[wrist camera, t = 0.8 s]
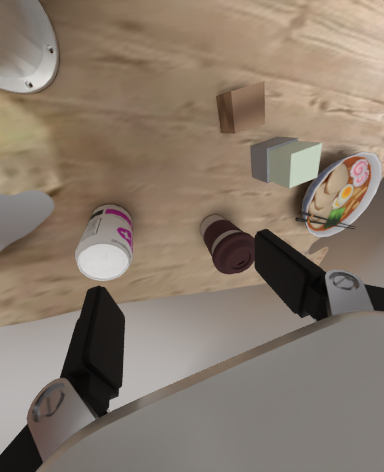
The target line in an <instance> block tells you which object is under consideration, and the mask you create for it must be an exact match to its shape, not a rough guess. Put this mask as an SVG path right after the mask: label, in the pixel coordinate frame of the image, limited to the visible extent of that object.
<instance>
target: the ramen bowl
mask: <svg viewBox="0 0 384 472" xmlns="http://www.w3.org/2000/svg"><path fill="white" fill-rule="evenodd" d="M381 178H382V163H381V161H380V160H379V158H378V157H377V155H376V154H375V153H368V152H361V153H357V154H354V155H352V156H349V157H346V158H344V159H341V160H339V161H337V162H334V163H333V164H331V165H329V166H328V167H327V168H326V169H324V170H323V171H322V172H321V173H320V174H318V175H317V178H315V179H314V180H313V182H312V183H311V184H310V186H309V187H308V189H307V191H306V194H305V196H304V198H303V203H302V211H300V212H299V214H302V216H303V219H301V218H296V219H295V220H296V221H302V222H305V224H306V227H307V229H308V230H309V232H310V233H312V234H313V235H315V236H317V237H326V236H331V235H333V234H335V233H338V232H340V231H342V230H343V229H345V228H349V227H347V226H350V224H351V223H353V222H354V221H355V220H356V219H357V218H358V217H359V215H360V214H361V213H362V212H363V211H364V210H365V209H366V208H367V206H368V205H369V203H370V202H371V200H372V198H373V197H374V195H375V193H376V191H377V189H378V186H379V183H380V180H381ZM352 227H353V226H352ZM350 229H351V228H350ZM352 229H354V228H352Z"/></svg>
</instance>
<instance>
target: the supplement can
mask: <svg viewBox="0 0 384 472" xmlns="http://www.w3.org/2000/svg"><path fill="white" fill-rule="evenodd" d="M132 257H133V240H132V220H131V216H130V215H129V213H128V212H127V211H126V210H125V209H123V208H122V207H120V206H117V205H103V206H100V207H98V208H97V209H96V210H95V211H94V212H93V214H92V216H91V218H90V220H89V222H88V224H87V227H86V229H85V231H84V233H83V236H82V238H81V240H80V242H79V245H78V247H77V249H76V253H75V259H76V262H77V264H78V267H79V269H80V271H81V272H82V273H83V274H84V275H85V276H87V277H89V278H91V279H94V280H101V281H105V280H112V279H115V278H117V277H119V276H121V275H122V274H123V273H124V272H125V271H126V269H127V268H128V267H129V266H130V264H131V263H132Z"/></svg>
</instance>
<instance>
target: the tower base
mask: <svg viewBox="0 0 384 472" xmlns="http://www.w3.org/2000/svg"><path fill="white" fill-rule="evenodd" d="M294 141H298V138H288V137H276V138H273V139H270V140H268V141H265V142H262V143H259V144H256V145H253V146H250V147H251V166H252V177H253V178H256V179H258V180H261V181H263V182H266V183H269V182H271V181H269V150H272V149H275V148H278V147H280V146H283V145H286V144H289V143H291V142H294Z"/></svg>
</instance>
